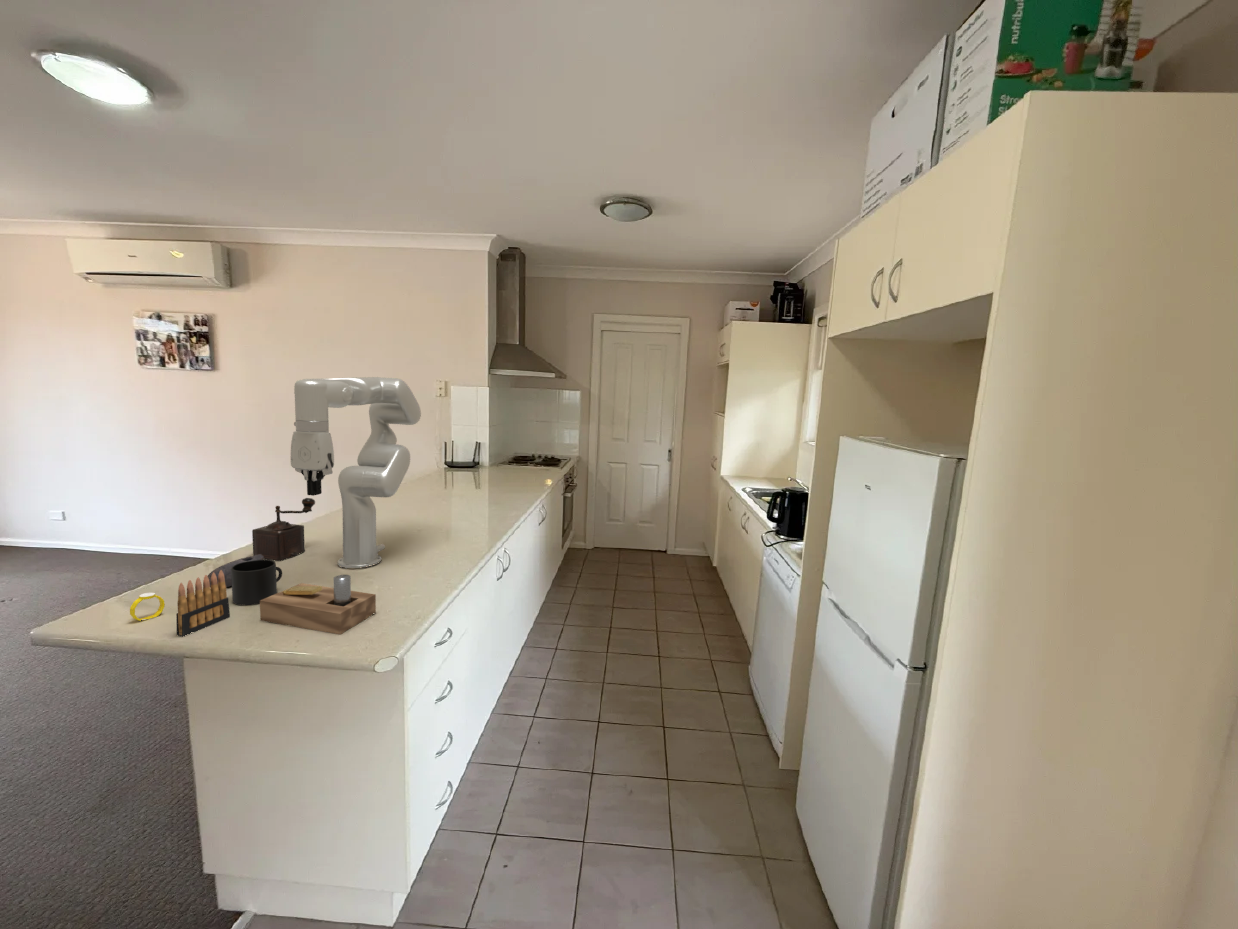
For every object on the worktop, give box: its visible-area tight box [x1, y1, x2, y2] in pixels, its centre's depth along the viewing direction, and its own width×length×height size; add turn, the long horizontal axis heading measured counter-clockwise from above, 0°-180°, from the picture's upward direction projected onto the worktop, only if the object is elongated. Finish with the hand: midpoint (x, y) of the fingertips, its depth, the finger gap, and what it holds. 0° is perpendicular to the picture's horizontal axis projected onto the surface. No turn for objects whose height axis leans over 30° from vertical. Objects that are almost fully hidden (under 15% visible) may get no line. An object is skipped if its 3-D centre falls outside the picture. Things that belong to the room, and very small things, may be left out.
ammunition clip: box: [176, 570, 231, 638], centre depth 114 cm, size 11×2×12 cm, turn 167°
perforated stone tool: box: [207, 554, 265, 589], centre depth 139 cm, size 15×5×7 cm, turn 153°
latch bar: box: [282, 585, 323, 595], centre depth 123 cm, size 3×8×1 cm, turn 78°
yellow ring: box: [129, 592, 166, 622], centre depth 117 cm, size 6×3×6 cm, turn 158°
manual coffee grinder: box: [251, 497, 316, 562], centre depth 166 cm, size 16×11×18 cm
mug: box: [231, 559, 283, 606], centre depth 132 cm, size 9×12×9 cm
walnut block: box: [259, 582, 377, 635], centre depth 122 cm, size 12×22×5 cm, turn 78°
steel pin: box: [333, 574, 352, 606], centre depth 121 cm, size 4×4×11 cm
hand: (314, 494), depth 136 cm, fingers closed
